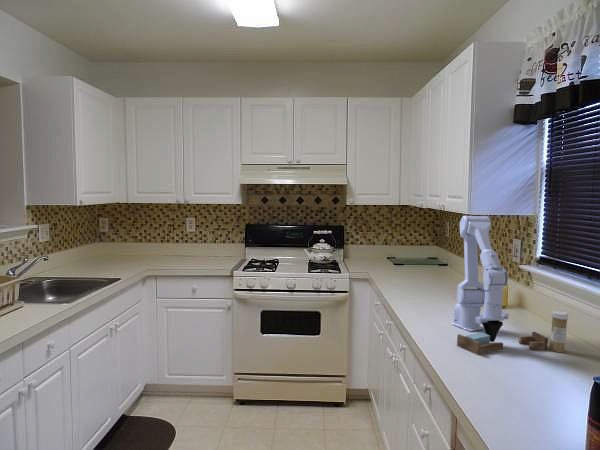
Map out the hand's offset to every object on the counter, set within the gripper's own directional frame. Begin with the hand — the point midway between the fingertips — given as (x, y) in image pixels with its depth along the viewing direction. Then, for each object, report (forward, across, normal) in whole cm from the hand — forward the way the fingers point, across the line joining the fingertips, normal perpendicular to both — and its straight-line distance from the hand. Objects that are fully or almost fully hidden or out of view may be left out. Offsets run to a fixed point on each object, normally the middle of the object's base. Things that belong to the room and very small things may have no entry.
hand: (490, 340), depth 146 cm
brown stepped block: (+1, +12, -7) cm, 14 cm away
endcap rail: (+1, -7, 0) cm, 7 cm away
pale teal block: (+2, -7, 0) cm, 7 cm away
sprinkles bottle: (+2, +17, -13) cm, 22 cm away
